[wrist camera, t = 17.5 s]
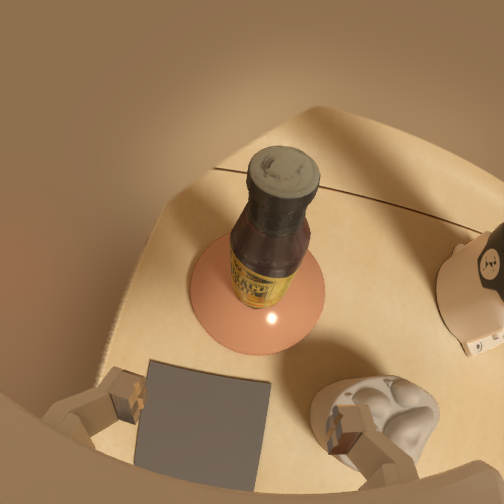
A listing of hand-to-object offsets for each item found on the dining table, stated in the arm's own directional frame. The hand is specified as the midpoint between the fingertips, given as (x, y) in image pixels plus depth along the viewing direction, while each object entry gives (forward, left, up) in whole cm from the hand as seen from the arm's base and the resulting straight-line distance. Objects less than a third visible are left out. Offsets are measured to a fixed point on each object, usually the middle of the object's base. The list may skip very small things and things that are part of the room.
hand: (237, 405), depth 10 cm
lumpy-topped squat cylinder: (-14, +3, -20) cm, 25 cm away
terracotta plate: (0, -12, -20) cm, 23 cm away
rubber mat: (+4, +6, -20) cm, 21 cm away
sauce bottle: (0, -12, -19) cm, 22 cm away
